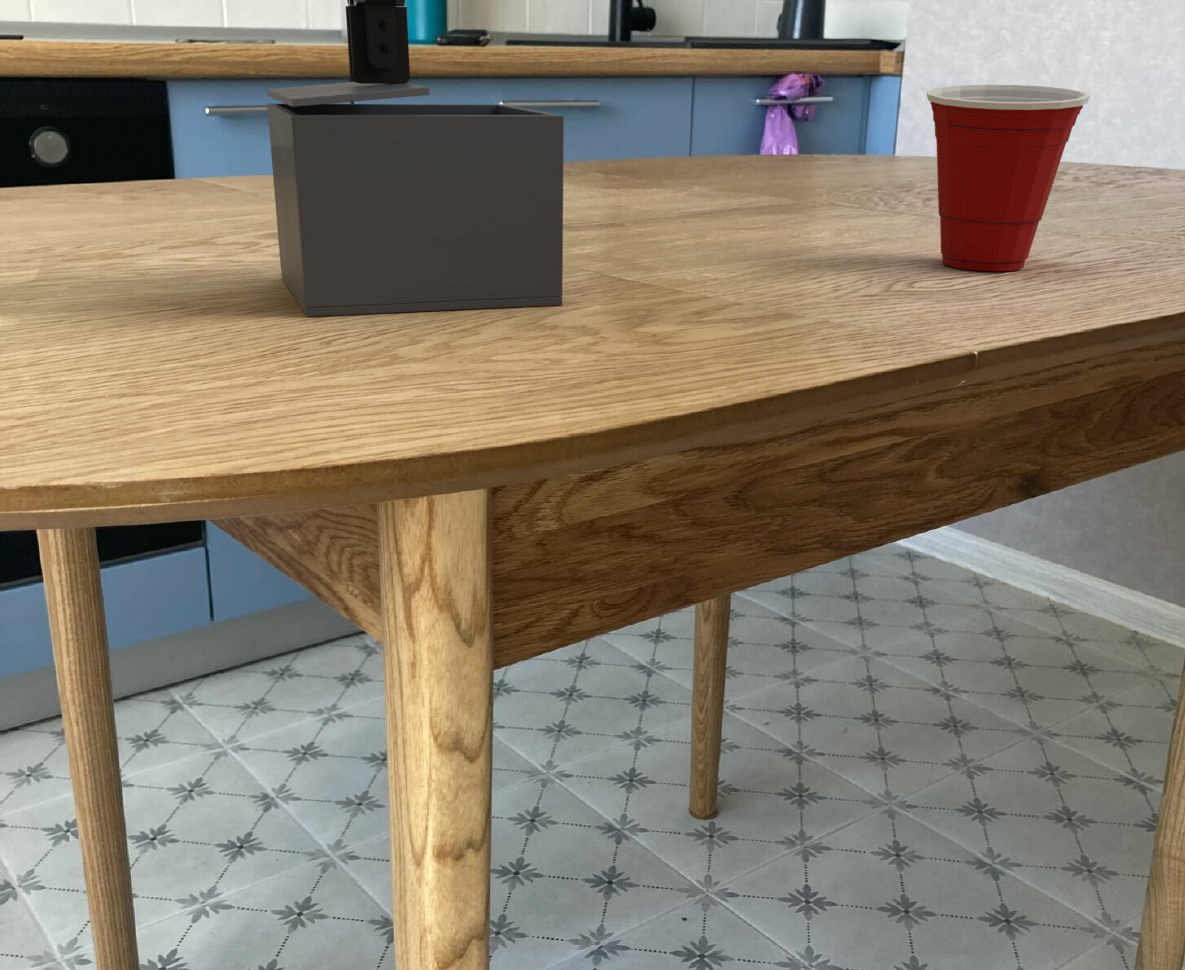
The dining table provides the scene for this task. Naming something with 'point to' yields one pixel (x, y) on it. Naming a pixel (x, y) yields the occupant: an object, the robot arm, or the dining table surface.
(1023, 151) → the plastic cup
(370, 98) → the flap
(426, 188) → the carton
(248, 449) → the dining table surface
